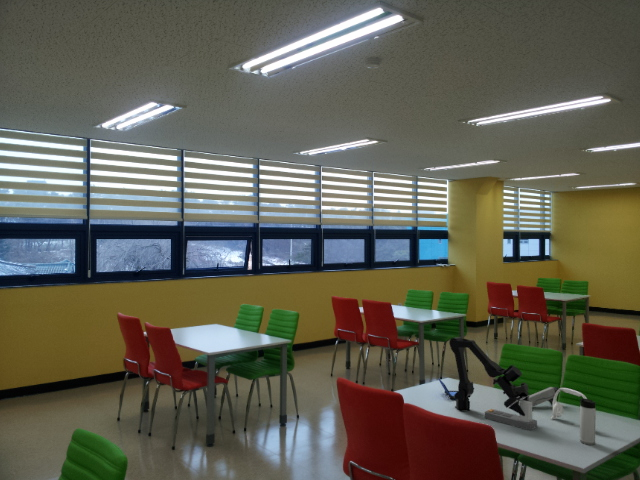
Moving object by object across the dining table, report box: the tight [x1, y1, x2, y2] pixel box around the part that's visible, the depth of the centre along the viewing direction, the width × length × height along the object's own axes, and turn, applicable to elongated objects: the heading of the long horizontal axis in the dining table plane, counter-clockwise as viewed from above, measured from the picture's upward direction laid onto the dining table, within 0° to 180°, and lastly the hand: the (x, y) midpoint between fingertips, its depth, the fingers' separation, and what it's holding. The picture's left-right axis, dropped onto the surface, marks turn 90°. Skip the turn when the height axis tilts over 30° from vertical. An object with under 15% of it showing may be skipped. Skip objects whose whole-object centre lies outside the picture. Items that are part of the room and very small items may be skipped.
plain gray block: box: [518, 400, 533, 422], centre depth 248 cm, size 5×5×12 cm
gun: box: [528, 386, 560, 408], centre depth 281 cm, size 2×25×10 cm, turn 110°
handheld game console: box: [438, 378, 458, 401], centre depth 297 cm, size 16×13×9 cm
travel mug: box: [579, 397, 597, 446], centre depth 228 cm, size 6×7×20 cm
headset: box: [550, 387, 588, 421], centre depth 252 cm, size 20×7×18 cm, turn 29°
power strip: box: [484, 408, 538, 431], centre depth 254 cm, size 24×8×4 cm, turn 45°
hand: (528, 413), depth 247 cm, fingers open, 9 cm apart
